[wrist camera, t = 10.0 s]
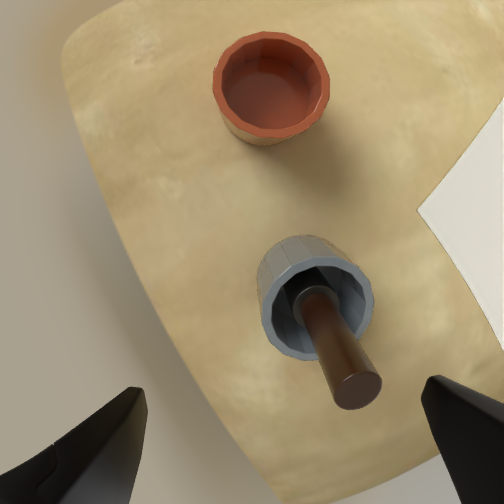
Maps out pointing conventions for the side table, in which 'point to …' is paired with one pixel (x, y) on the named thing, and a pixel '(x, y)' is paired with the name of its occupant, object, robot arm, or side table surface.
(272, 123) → the holder
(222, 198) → the side table surface
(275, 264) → the cup
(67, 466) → the robot arm
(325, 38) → the side table surface
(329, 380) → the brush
